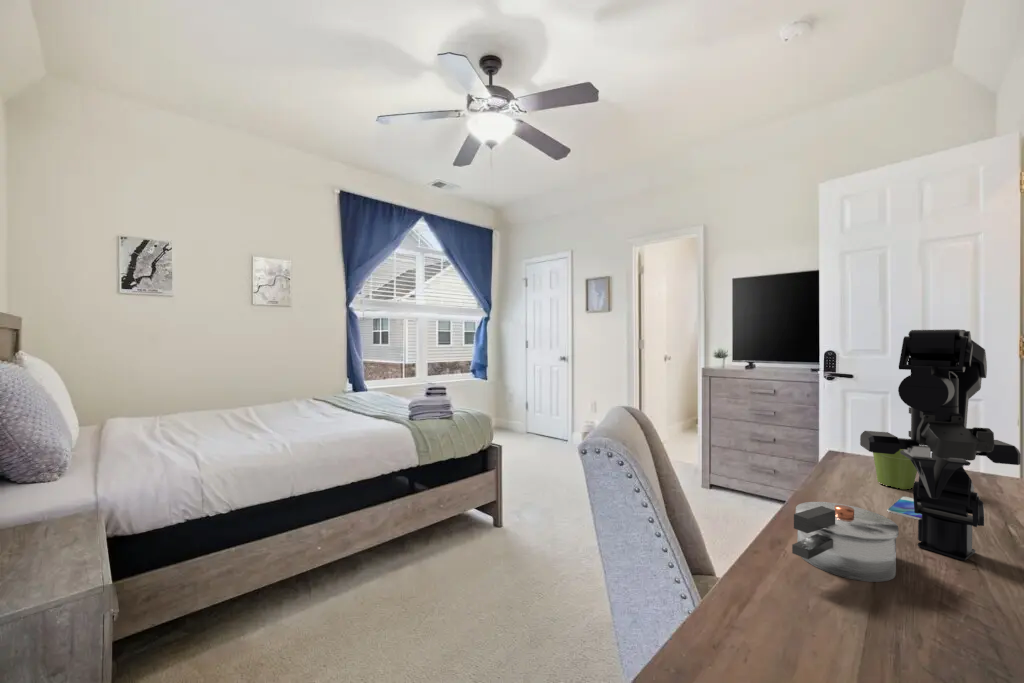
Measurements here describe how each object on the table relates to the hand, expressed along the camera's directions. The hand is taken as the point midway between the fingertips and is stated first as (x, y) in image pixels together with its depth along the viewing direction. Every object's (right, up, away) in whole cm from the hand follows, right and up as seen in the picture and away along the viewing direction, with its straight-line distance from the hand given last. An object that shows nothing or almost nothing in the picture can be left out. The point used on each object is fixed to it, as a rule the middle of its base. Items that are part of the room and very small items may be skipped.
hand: (933, 497), depth 74 cm
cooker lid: (-14, -6, +4) cm, 15 cm away
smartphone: (+23, -14, +29) cm, 40 cm away
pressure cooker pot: (-13, -13, +4) cm, 19 cm away
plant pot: (+33, -13, +46) cm, 58 cm away
